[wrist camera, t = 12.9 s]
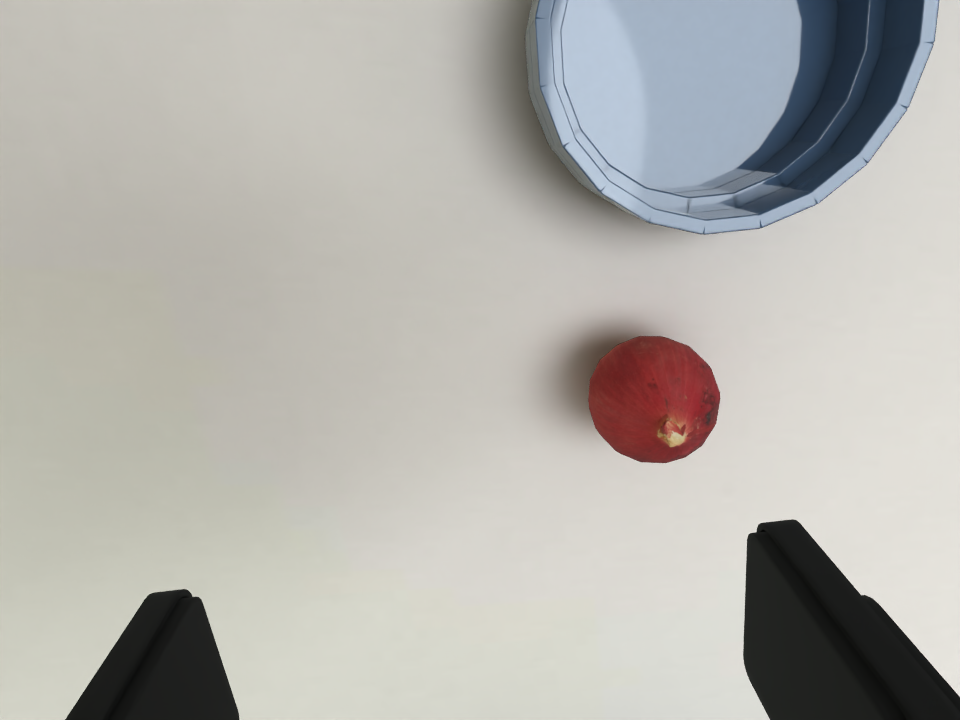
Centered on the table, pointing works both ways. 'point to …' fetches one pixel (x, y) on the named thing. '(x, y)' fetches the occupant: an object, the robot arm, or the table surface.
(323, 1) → the table surface
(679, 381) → the pomegranate
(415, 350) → the table surface
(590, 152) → the bowl
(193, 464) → the table surface
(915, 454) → the table surface
